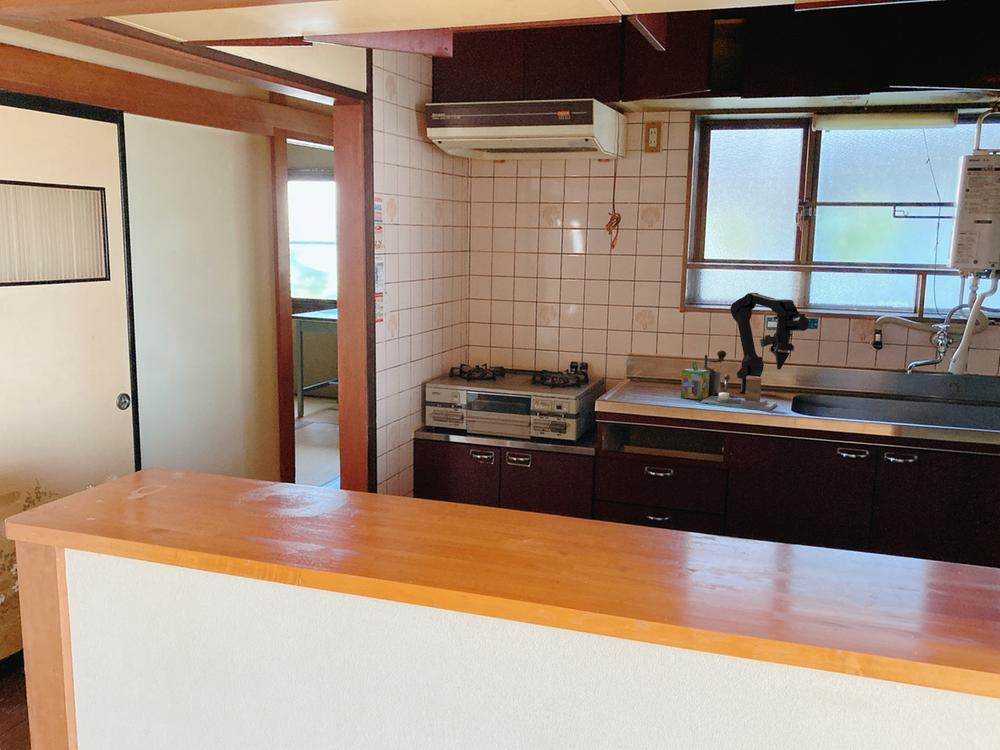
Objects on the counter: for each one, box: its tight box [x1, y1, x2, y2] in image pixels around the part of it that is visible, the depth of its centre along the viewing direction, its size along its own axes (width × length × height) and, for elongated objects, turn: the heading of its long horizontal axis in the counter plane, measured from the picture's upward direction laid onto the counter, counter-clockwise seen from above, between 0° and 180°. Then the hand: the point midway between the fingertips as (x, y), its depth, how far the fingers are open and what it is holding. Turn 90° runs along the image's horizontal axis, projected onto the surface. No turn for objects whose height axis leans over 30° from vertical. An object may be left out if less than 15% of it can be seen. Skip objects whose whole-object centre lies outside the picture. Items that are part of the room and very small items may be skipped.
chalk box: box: [680, 361, 710, 401], centre depth 347 cm, size 9×9×15 cm
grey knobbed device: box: [699, 350, 727, 396], centre depth 358 cm, size 16×11×18 cm
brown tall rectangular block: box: [744, 376, 763, 403], centre depth 328 cm, size 3×5×11 cm, turn 60°
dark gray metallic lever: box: [722, 374, 731, 393], centre depth 340 cm, size 2×2×8 cm
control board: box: [700, 391, 778, 412], centre depth 334 cm, size 14×26×4 cm, turn 60°
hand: (778, 369), depth 341 cm, fingers closed
